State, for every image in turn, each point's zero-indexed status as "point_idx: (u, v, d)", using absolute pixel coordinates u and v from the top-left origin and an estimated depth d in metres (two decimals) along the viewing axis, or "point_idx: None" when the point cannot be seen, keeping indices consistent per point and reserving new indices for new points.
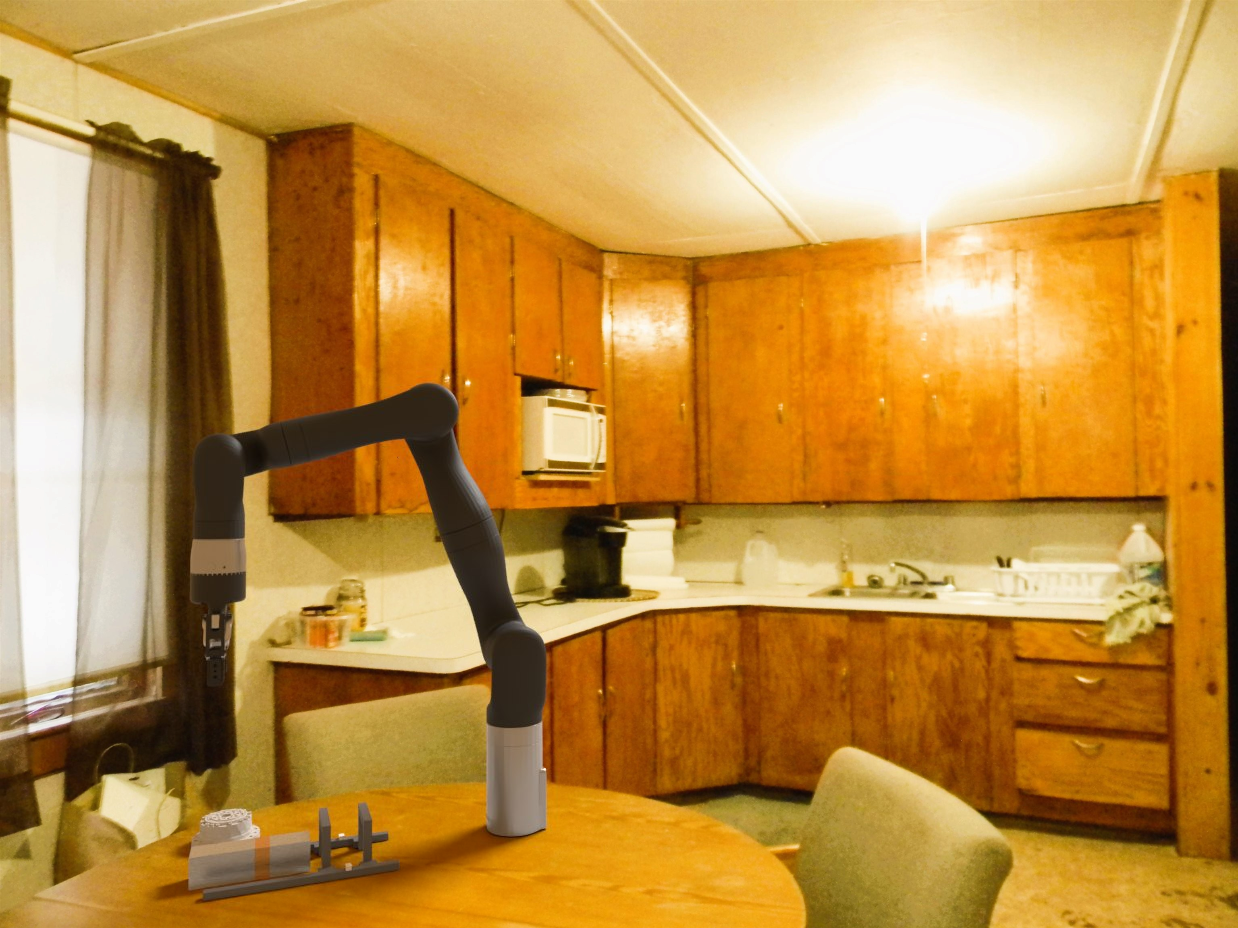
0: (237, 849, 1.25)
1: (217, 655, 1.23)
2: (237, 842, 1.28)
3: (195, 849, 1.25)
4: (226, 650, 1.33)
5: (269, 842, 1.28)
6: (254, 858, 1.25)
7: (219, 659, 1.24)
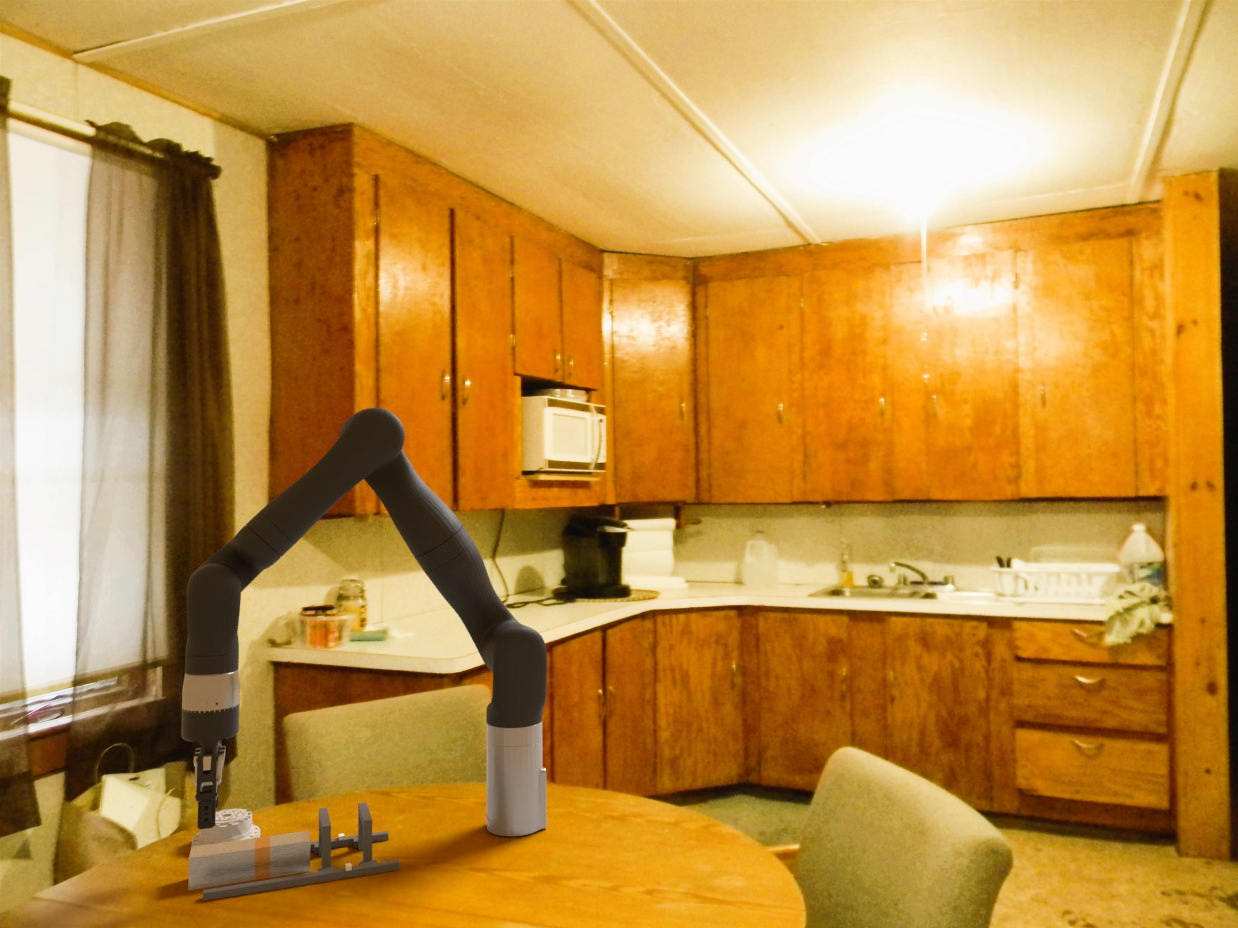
0: (237, 849, 1.25)
1: (208, 799, 1.19)
2: (237, 842, 1.28)
3: (195, 849, 1.25)
4: None
5: (269, 842, 1.28)
6: (254, 858, 1.25)
7: (210, 801, 1.21)
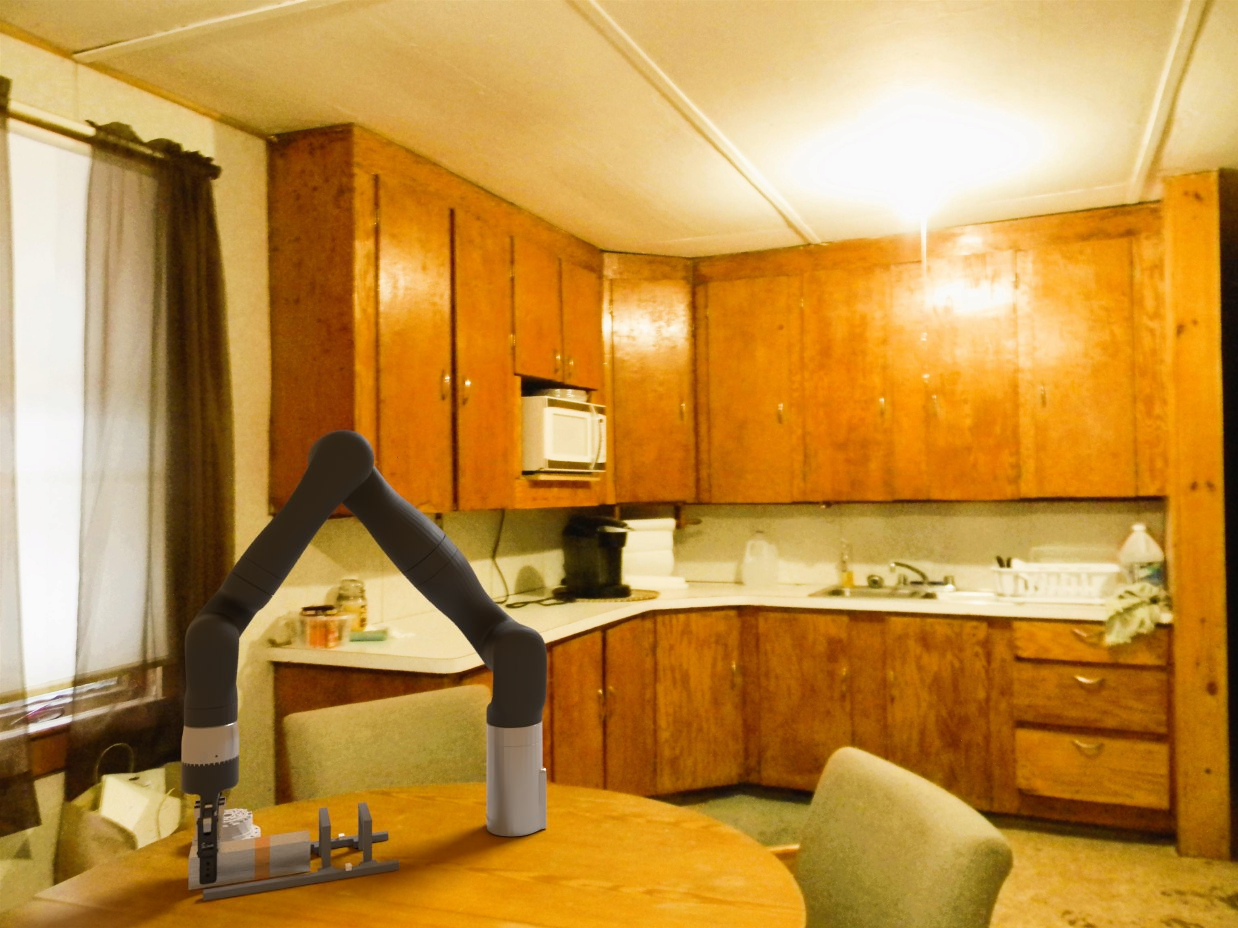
0: (237, 849, 1.25)
1: (210, 855, 1.20)
2: (237, 842, 1.28)
3: (195, 849, 1.25)
4: (218, 842, 1.28)
5: (269, 842, 1.28)
6: (254, 858, 1.25)
7: (212, 857, 1.22)
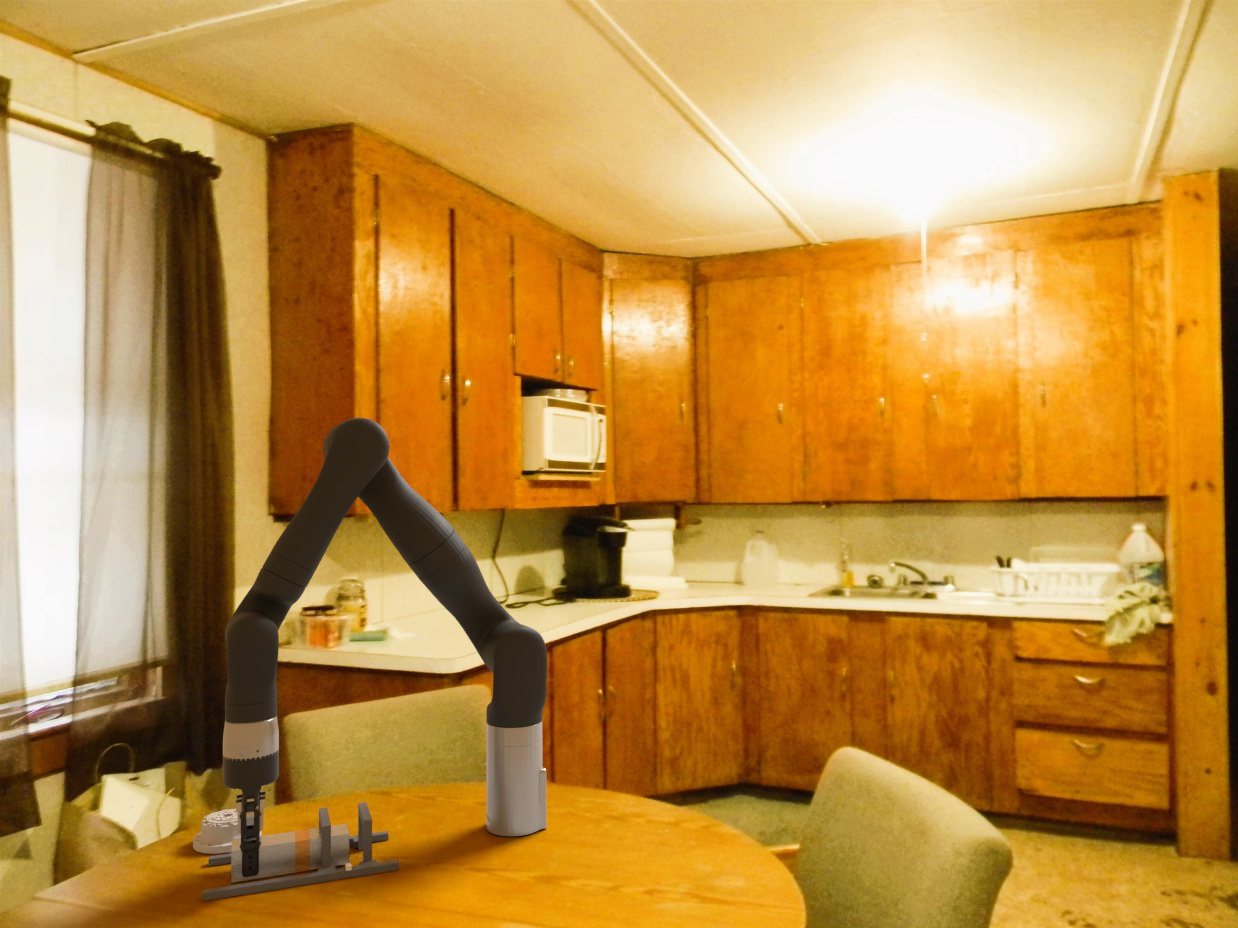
0: (278, 842, 1.27)
1: (252, 848, 1.23)
2: (277, 835, 1.30)
3: (236, 842, 1.27)
4: None
5: (308, 835, 1.30)
6: (294, 851, 1.27)
7: (254, 850, 1.24)
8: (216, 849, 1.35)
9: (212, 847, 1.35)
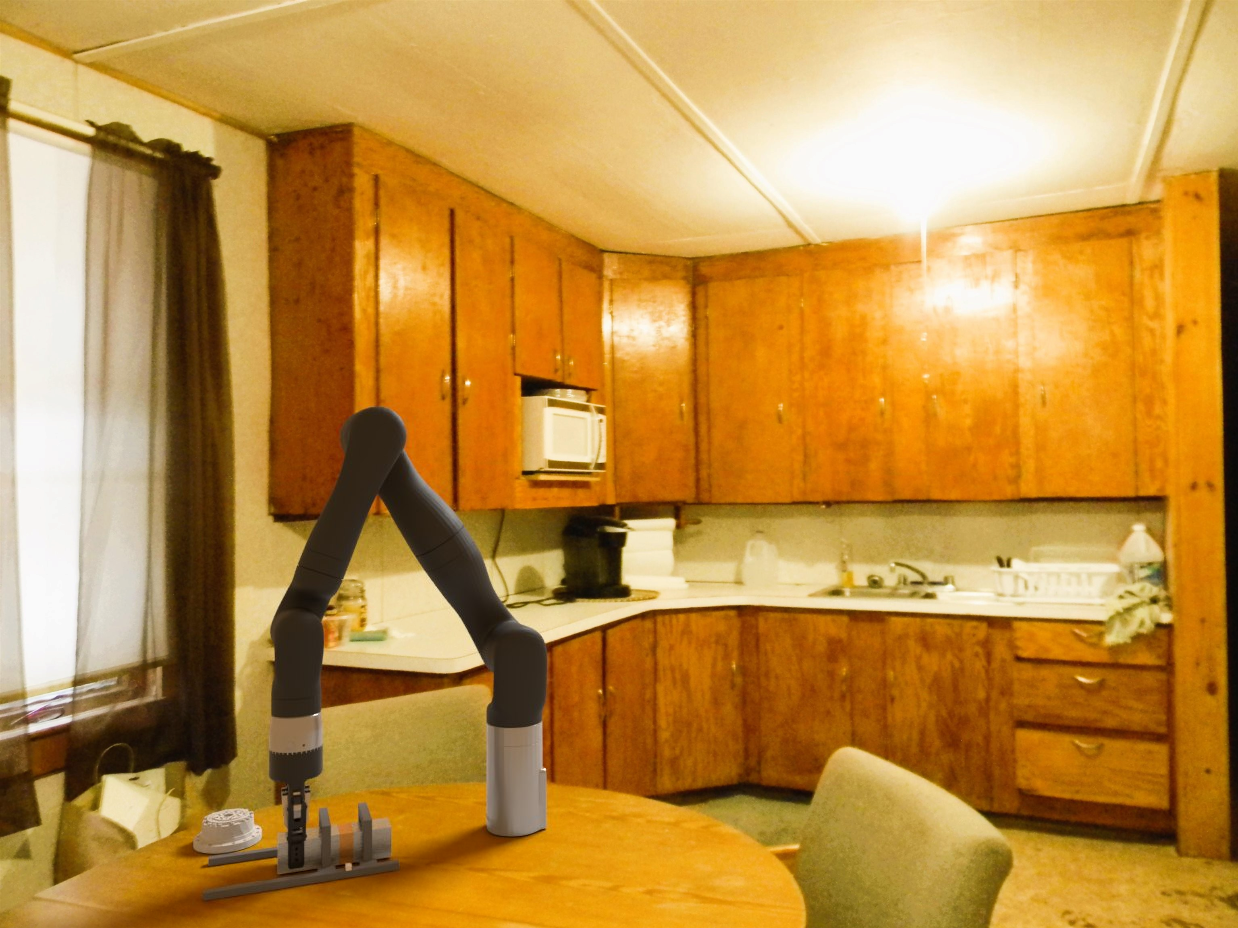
0: None
1: (299, 840, 1.25)
2: None
3: (281, 835, 1.29)
4: None
5: (352, 828, 1.32)
6: (339, 843, 1.30)
7: (300, 842, 1.26)
8: (216, 849, 1.35)
9: (213, 847, 1.35)
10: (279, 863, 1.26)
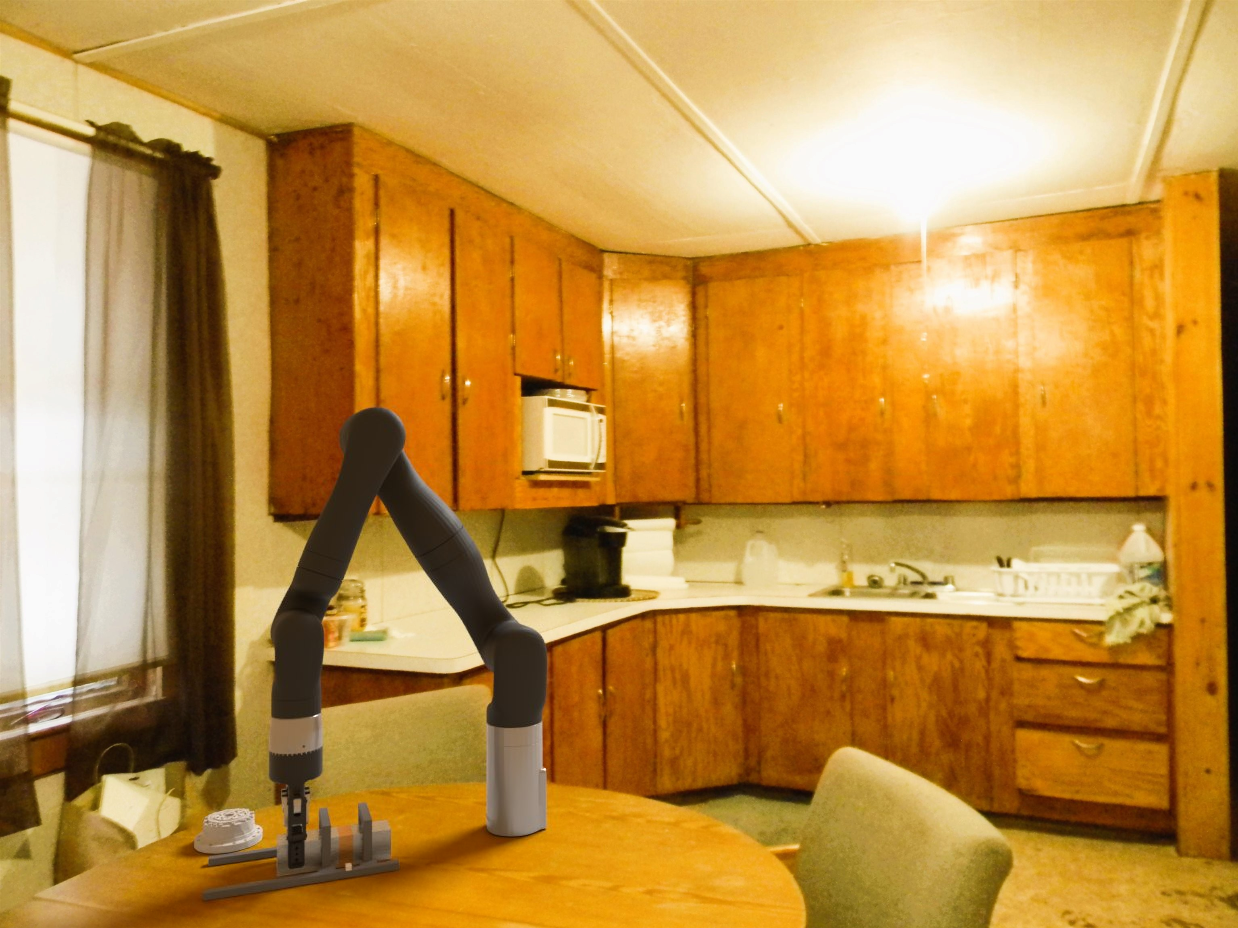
0: None
1: (299, 840, 1.23)
2: (320, 830, 1.32)
3: (281, 837, 1.29)
4: None
5: (351, 830, 1.32)
6: (338, 846, 1.29)
7: (300, 842, 1.25)
8: (217, 849, 1.35)
9: (214, 847, 1.35)
10: (279, 865, 1.26)
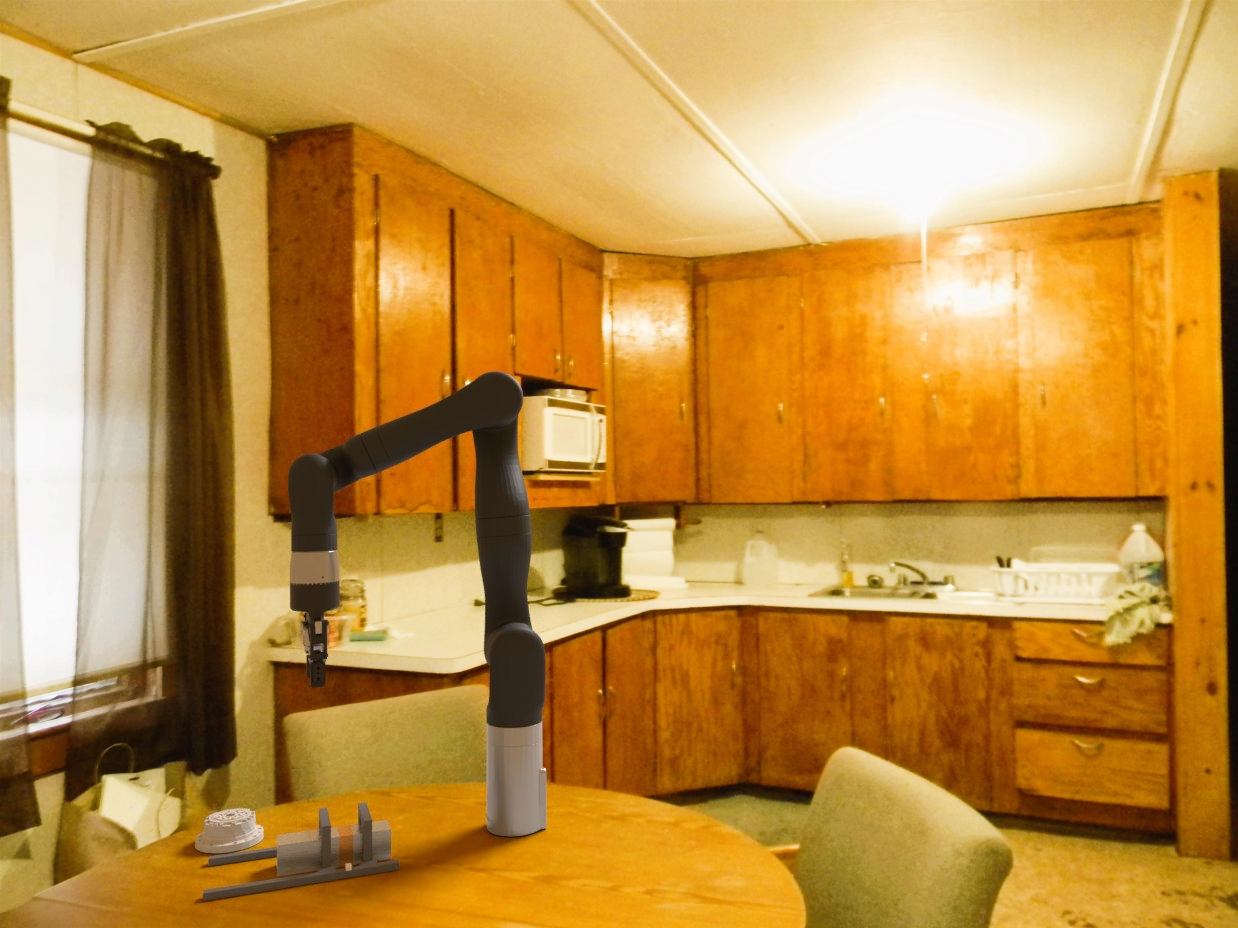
0: None
1: (321, 658, 1.33)
2: (320, 830, 1.32)
3: (281, 837, 1.29)
4: None
5: (351, 830, 1.32)
6: (338, 846, 1.29)
7: (321, 662, 1.35)
8: (218, 849, 1.35)
9: (214, 847, 1.35)
10: (279, 865, 1.26)
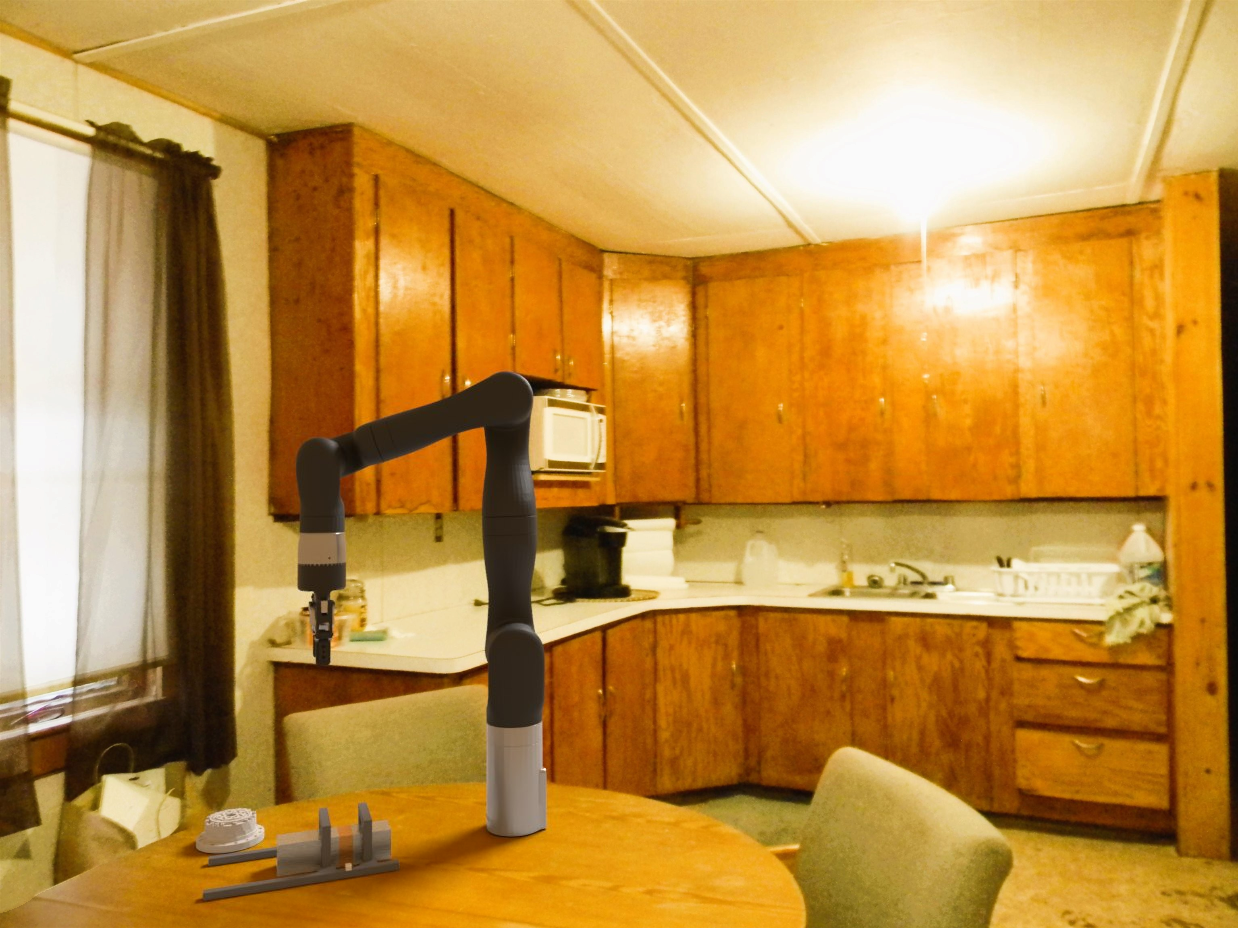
0: None
1: (326, 637, 1.36)
2: (320, 830, 1.32)
3: (281, 837, 1.29)
4: None
5: (351, 830, 1.32)
6: (338, 846, 1.29)
7: (327, 641, 1.38)
8: (219, 849, 1.35)
9: (215, 846, 1.35)
10: (279, 865, 1.26)
